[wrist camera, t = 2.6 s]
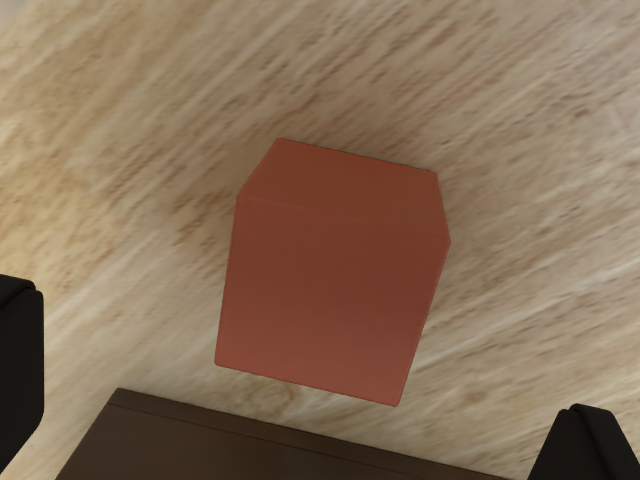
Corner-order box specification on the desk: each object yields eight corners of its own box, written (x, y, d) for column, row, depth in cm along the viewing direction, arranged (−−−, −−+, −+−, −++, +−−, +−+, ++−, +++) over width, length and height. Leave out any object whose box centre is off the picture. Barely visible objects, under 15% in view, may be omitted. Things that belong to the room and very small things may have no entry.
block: (277, 136, 16) (235, 192, 12) (437, 172, 15) (452, 241, 11) (254, 276, 17) (212, 366, 13) (397, 309, 17) (397, 409, 13)
